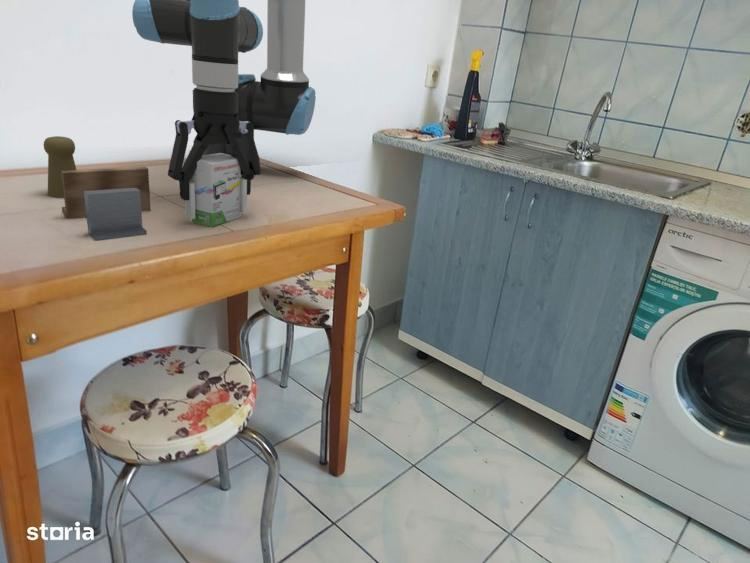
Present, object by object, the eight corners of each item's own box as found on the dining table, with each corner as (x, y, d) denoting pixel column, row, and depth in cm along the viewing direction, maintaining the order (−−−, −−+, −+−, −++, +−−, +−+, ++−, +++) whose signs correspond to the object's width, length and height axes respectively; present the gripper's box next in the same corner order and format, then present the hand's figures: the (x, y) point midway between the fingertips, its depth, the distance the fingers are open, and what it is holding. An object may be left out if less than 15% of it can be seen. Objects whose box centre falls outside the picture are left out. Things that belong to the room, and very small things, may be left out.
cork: (74, 188, 110) (67, 133, 106) (88, 195, 107) (82, 139, 102) (42, 192, 106) (34, 134, 101) (55, 199, 102) (48, 140, 98)
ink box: (212, 228, 97) (211, 162, 93) (190, 221, 99) (188, 157, 94) (241, 217, 104) (242, 156, 100) (221, 212, 106) (220, 152, 101)
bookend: (138, 227, 93) (135, 187, 91) (146, 234, 91) (144, 193, 88) (88, 232, 89) (83, 191, 86) (95, 240, 86) (90, 197, 83)
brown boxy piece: (142, 204, 105) (140, 163, 102) (150, 210, 102) (148, 168, 99) (62, 211, 97) (56, 166, 93) (68, 218, 94) (62, 172, 90)
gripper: (262, 88, 102) (259, 203, 111) (141, 82, 88) (149, 214, 97) (282, 93, 97) (278, 213, 106) (158, 88, 83) (165, 226, 92)
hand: (216, 213), depth 101 cm, fingers closed on ink box, 9 cm apart
